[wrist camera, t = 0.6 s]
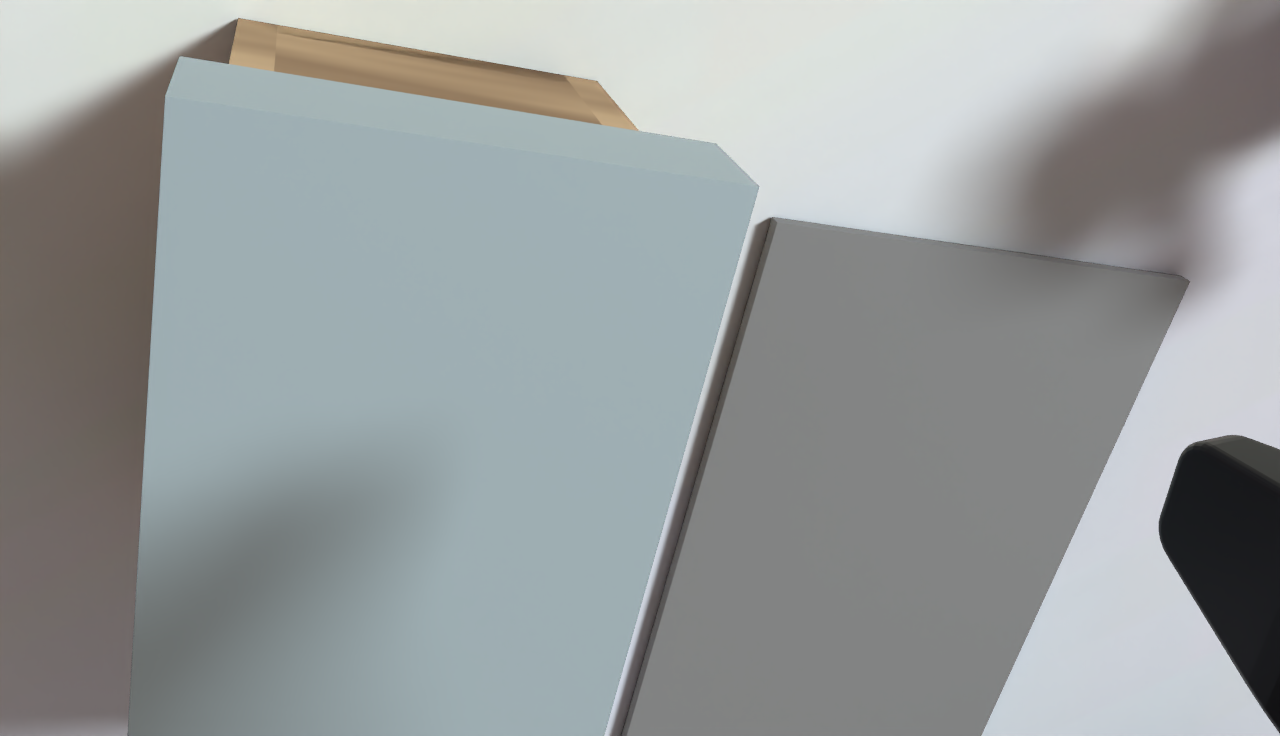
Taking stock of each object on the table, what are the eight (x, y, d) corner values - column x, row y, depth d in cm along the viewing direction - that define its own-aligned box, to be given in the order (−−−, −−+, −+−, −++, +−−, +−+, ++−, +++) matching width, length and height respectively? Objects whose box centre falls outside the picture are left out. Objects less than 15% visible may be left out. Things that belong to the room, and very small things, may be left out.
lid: (550, 697, 22) (581, 816, 19) (143, 697, 20) (121, 832, 17) (695, 123, 17) (759, 186, 15) (185, 37, 15) (165, 95, 13)
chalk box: (497, 546, 25) (538, 715, 21) (195, 533, 23) (172, 717, 19) (596, 81, 21) (674, 172, 16) (238, 18, 19) (220, 103, 14)
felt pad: (965, 748, 32) (971, 756, 32) (615, 754, 29) (618, 764, 28) (1180, 275, 26) (1189, 281, 26) (772, 217, 23) (777, 222, 23)
